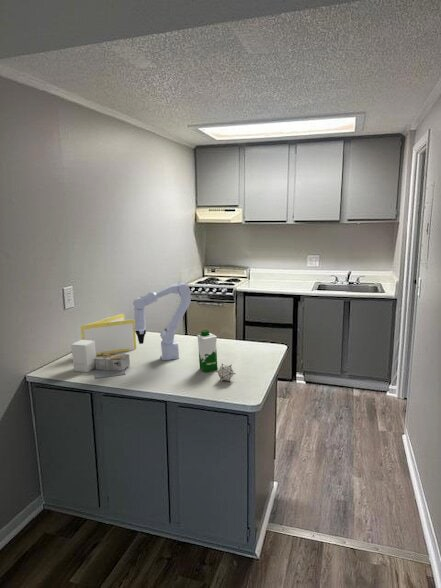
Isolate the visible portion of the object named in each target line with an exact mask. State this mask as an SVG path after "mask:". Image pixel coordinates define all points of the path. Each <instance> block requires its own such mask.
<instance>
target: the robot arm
mask: <svg viewBox="0 0 441 588" xmlns="http://www.w3.org/2000/svg"><path fill="white" fill-rule="evenodd" d="M191 293H192V292H191V289H190V287H189V285H187V284H186V283H184V282H183V281H180V282H177V283H173V284H172V285H169V286H168V287H165V288H163V289H160V290H159V291H157V292H154V291H148V293H147V294H144V295H140V297H136V298H134V299H133V302H132V305H133V306H134V308H133V315H134V318H133V319H134V321H135V327H133V329H135V335H136V336H137V341H138V344H139V345H141V344H144V341H145V336H146V334H147V331H146V329H147V327H146V312H145V307H146V306H149V305H152V304H153V303H156V302H158V299H160V298H162V297H165V296H168V295H171V294H174V295H175V294H177V295H179V298H180V302H179V304H178V306H177V308H176V310H175V312H174V313H173V315H172V317H171V318H170V320H169V323H168V324H167V325H166V326H165V328H164V329H163V330H161V332H160V334H159V335H160V336H159V337H160V338H161V341H160V347H161V348H160V349H161V355H160V358H161V360H162V361H169V360H175V359H176V360H177V359H180V355H179V354H180V353H179V344H178V343H179V342H178V341H174V339H175V335H176V331H177V328H178V326H179V325H180V323H181V321H182V319H183V317H184V315H185V313H186V312H187V309H188V308H189V306H190V304H191V303H192V301H191V299H192V298H191V297H192V296H191Z"/></svg>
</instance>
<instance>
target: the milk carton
mask: <svg viewBox="0 0 441 588" xmlns="http://www.w3.org/2000/svg"><path fill="white" fill-rule="evenodd" d="M200 332H201V333H200V334H197V343H198V360H199V361H198V362H199V369H200V370H201V371H203V372H205V373H210V372H214V371H218V370H219V369H218V354H217V349H218V348H217V340H218V339H217V338H218V336H217V335H215V334H213V333H211V332H210V330H209V329H205V330H204V329H203V330H200Z"/></svg>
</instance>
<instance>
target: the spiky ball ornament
mask: <svg viewBox="0 0 441 588" xmlns="http://www.w3.org/2000/svg"><path fill="white" fill-rule="evenodd" d="M232 366H233V365H232V364H230V365H227V364H223V363H221V366H220V367H219V369H218V370H215V373H217V375H218V376H219V378H220V379H219V381H220V382H221V381H227V382H229V383H231V382H230V380H232V378H233V376H234V375H236V373H235V372H234V370H233V368H232Z"/></svg>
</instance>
